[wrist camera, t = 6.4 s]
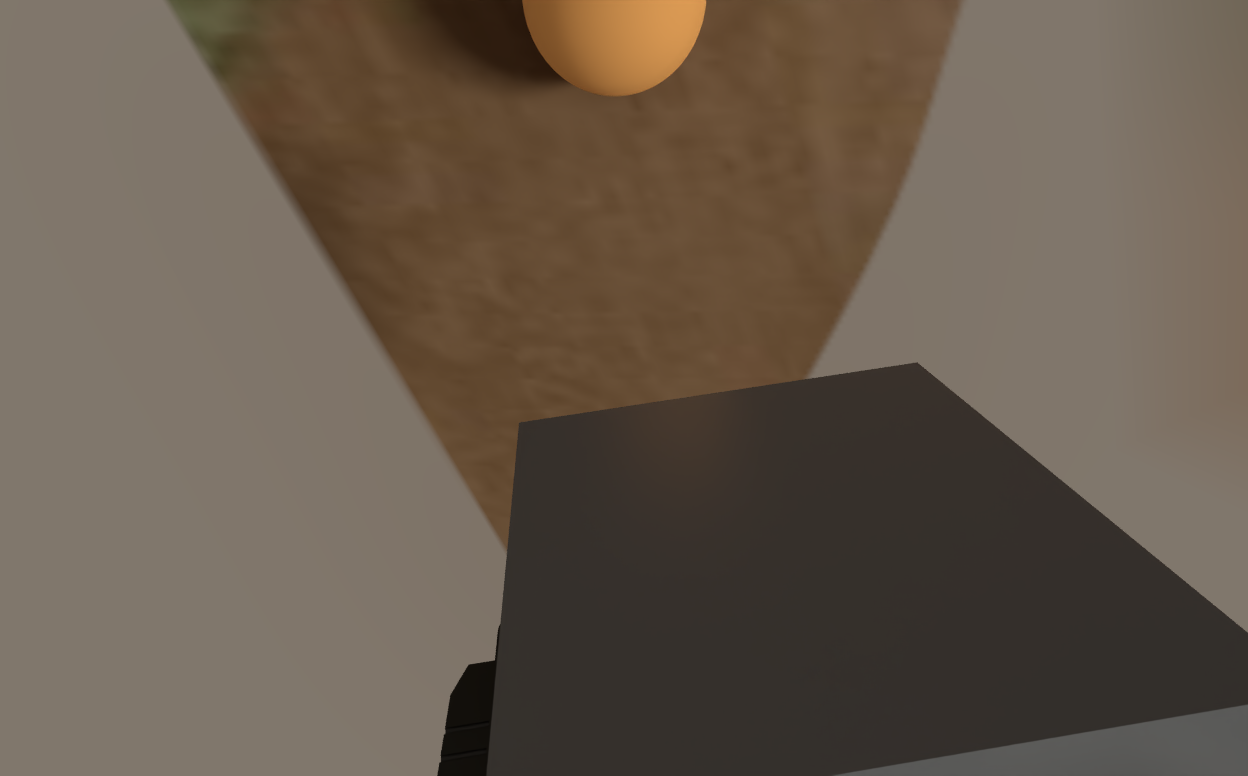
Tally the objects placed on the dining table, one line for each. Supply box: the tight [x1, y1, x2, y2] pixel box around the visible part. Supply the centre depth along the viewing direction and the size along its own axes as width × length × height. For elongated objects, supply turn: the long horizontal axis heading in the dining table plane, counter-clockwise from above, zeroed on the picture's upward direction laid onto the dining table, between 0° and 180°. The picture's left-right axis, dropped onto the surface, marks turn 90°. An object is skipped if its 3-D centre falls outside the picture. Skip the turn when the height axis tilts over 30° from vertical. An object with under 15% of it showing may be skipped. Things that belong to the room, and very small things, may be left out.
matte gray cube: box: [486, 363, 1248, 776], centre depth 10 cm, size 7×7×7 cm
